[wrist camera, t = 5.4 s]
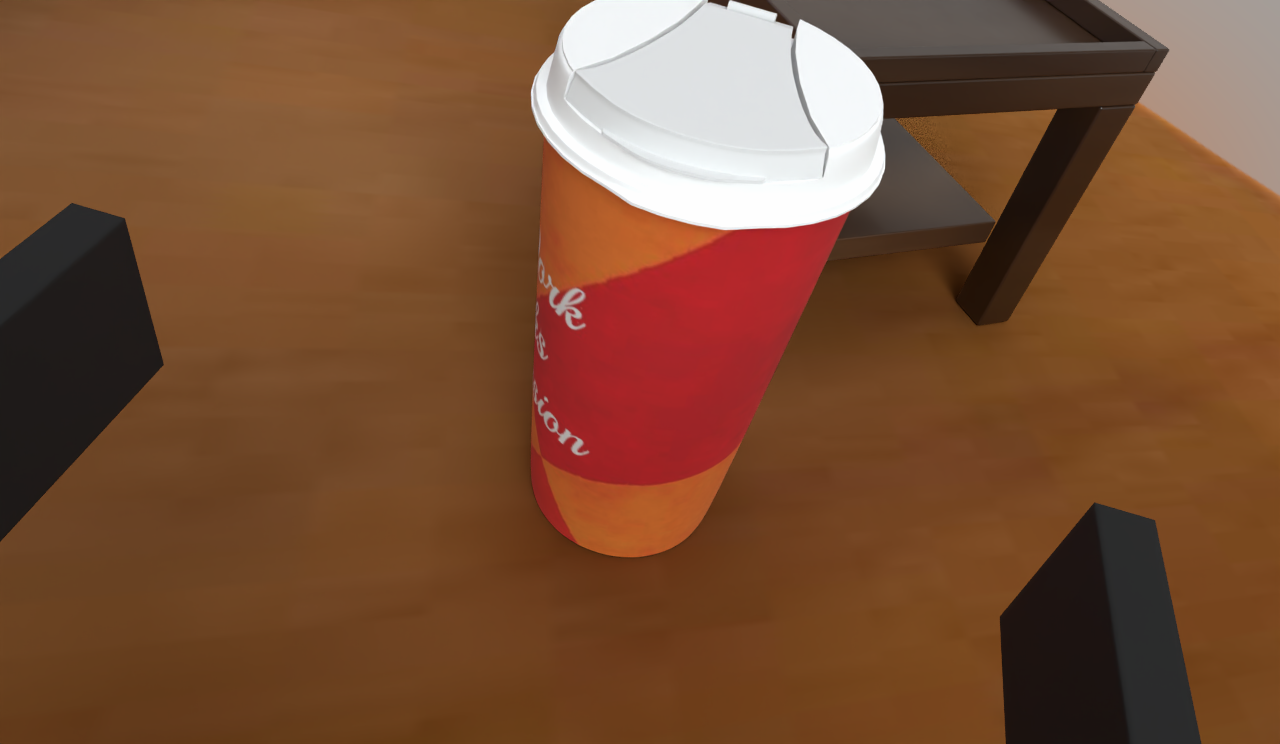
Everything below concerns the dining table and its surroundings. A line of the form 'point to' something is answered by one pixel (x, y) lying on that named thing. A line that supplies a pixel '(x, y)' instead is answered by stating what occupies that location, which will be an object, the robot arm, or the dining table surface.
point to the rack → (984, 83)
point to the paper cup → (679, 247)
